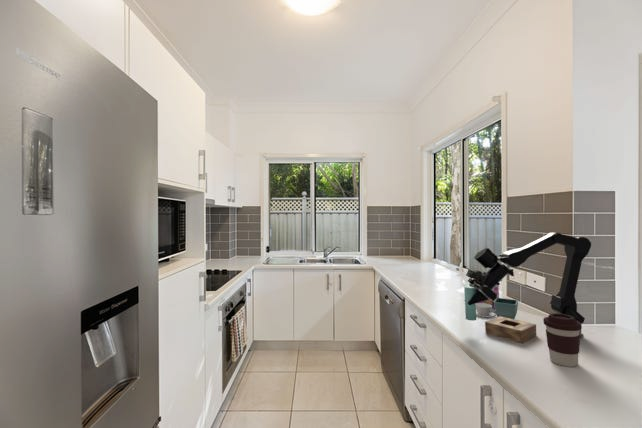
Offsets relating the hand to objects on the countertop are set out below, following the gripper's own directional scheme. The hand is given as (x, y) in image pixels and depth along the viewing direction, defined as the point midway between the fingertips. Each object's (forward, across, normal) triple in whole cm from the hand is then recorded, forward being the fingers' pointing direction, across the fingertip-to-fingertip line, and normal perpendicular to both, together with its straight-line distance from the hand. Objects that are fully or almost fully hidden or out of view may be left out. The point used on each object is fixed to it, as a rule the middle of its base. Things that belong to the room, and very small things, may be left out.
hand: (466, 302), depth 130 cm
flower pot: (-6, -18, +25) cm, 31 cm away
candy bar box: (-6, -42, +25) cm, 50 cm away
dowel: (+4, 0, +6) cm, 7 cm away
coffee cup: (-7, +24, +25) cm, 35 cm away
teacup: (-1, -27, +20) cm, 33 cm away
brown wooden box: (-3, 0, +20) cm, 21 cm away
